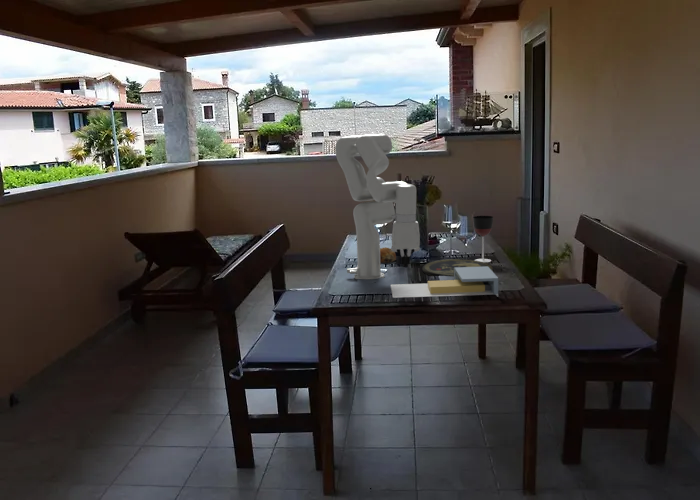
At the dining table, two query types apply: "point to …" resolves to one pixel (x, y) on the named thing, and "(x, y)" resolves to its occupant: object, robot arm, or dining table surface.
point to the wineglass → (483, 230)
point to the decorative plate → (450, 266)
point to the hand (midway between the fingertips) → (405, 265)
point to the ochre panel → (455, 286)
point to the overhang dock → (459, 274)
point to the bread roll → (387, 255)
